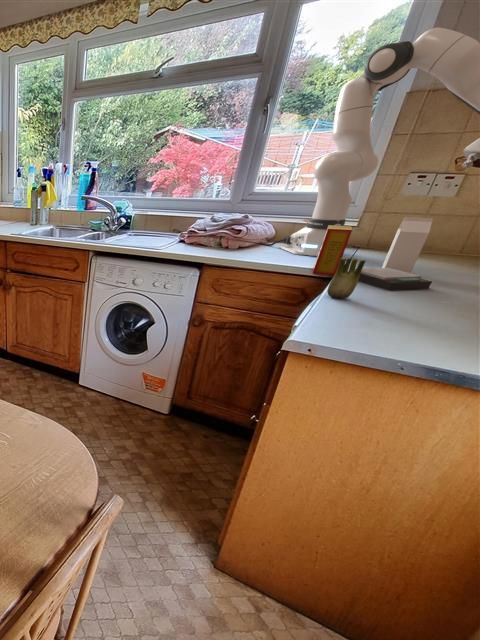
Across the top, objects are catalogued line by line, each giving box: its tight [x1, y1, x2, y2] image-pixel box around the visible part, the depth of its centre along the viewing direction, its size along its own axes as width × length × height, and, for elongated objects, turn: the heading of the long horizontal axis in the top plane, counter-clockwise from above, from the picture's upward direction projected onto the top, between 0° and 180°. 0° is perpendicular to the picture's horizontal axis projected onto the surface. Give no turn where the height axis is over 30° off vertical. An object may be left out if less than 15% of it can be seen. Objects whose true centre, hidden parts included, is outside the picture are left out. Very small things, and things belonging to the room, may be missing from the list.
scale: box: [354, 267, 433, 291], centre depth 143 cm, size 16×13×3 cm
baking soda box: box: [312, 225, 353, 277], centre depth 155 cm, size 10×6×16 cm
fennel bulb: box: [327, 257, 367, 300], centre depth 129 cm, size 6×5×12 cm
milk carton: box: [381, 216, 434, 274], centre depth 149 cm, size 7×7×19 cm
